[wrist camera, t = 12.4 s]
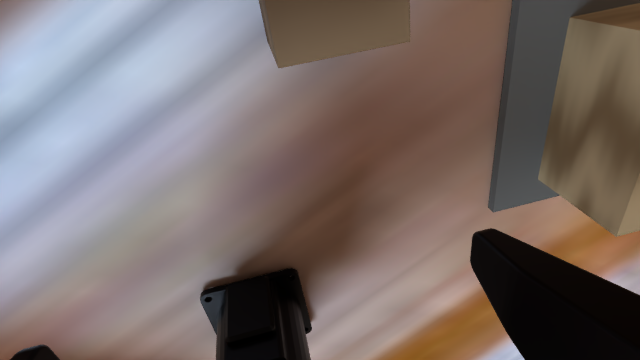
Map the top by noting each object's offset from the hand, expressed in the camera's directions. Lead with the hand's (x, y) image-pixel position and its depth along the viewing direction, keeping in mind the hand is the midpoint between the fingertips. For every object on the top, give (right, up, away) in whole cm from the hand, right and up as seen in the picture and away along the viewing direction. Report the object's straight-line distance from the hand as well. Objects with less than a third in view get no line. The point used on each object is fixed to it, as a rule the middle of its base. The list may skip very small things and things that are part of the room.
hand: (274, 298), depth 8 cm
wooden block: (+16, +7, +14) cm, 23 cm away
